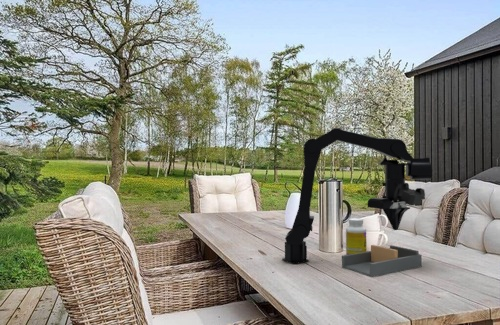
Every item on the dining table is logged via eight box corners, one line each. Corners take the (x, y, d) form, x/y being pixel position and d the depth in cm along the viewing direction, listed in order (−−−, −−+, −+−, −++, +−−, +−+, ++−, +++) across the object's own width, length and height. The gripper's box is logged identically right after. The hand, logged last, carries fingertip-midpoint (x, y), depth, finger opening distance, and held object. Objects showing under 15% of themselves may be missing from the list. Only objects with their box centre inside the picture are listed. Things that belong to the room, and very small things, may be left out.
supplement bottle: (367, 260, 127) (367, 220, 127) (346, 259, 128) (346, 220, 128) (365, 255, 134) (365, 218, 134) (345, 255, 135) (345, 217, 135)
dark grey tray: (372, 277, 108) (372, 260, 108) (341, 267, 118) (341, 252, 118) (421, 266, 118) (421, 251, 119) (389, 258, 129) (389, 244, 129)
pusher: (395, 267, 115) (394, 250, 115) (371, 261, 123) (370, 245, 123) (397, 267, 115) (397, 250, 115) (373, 260, 123) (373, 244, 123)
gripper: (396, 181, 110) (396, 236, 110) (437, 179, 120) (438, 230, 120) (366, 180, 120) (366, 231, 120) (406, 178, 129) (407, 226, 129)
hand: (395, 229), depth 122 cm, fingers closed
